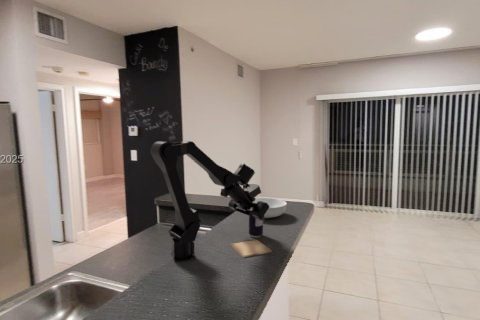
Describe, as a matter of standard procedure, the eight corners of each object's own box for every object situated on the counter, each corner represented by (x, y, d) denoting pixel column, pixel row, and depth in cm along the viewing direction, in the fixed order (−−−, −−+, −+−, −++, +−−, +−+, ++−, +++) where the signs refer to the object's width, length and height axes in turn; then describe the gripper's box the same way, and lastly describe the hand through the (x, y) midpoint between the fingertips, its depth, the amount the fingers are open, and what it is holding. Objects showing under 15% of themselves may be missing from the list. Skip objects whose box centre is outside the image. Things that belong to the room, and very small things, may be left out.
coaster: (243, 257, 98) (243, 255, 98) (230, 245, 108) (230, 244, 108) (271, 252, 103) (271, 250, 103) (256, 241, 113) (256, 239, 113)
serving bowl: (285, 210, 157) (285, 198, 156) (287, 223, 136) (288, 208, 135) (246, 209, 159) (246, 196, 158) (242, 221, 138) (243, 206, 137)
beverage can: (261, 233, 122) (262, 204, 120) (263, 238, 116) (264, 208, 115) (248, 233, 122) (248, 204, 120) (249, 238, 116) (249, 208, 115)
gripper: (266, 181, 107) (285, 206, 115) (234, 175, 121) (254, 197, 129) (249, 206, 103) (271, 230, 111) (218, 196, 117) (239, 218, 125)
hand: (258, 217), depth 119 cm, fingers open, 6 cm apart
